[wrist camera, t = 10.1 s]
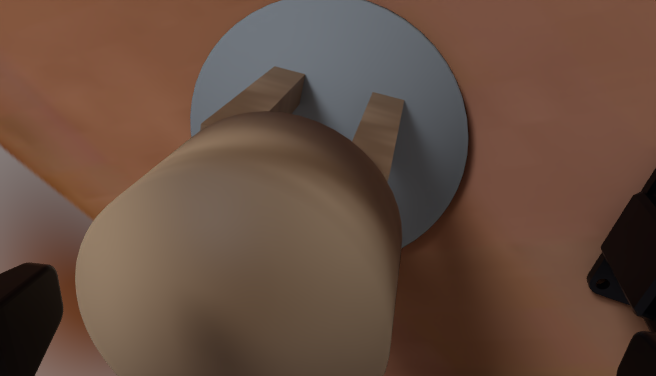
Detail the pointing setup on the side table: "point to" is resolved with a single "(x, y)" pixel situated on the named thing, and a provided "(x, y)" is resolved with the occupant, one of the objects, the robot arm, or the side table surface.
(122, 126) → the side table surface
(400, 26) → the mat
